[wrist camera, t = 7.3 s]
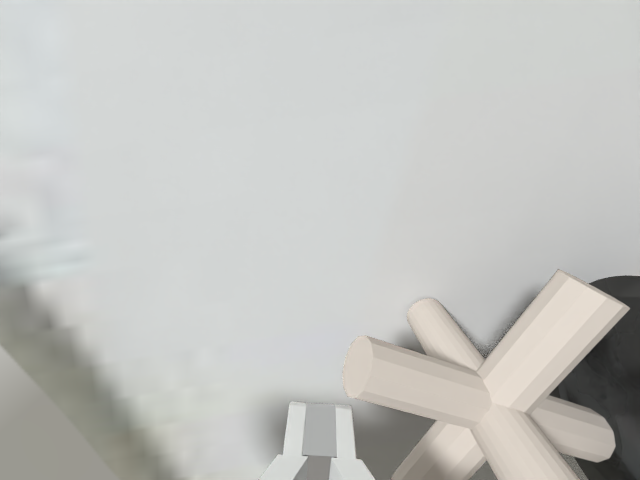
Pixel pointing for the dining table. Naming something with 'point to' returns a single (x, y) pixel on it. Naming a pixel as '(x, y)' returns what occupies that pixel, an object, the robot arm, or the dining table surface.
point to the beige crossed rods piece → (493, 387)
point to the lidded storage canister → (612, 384)
